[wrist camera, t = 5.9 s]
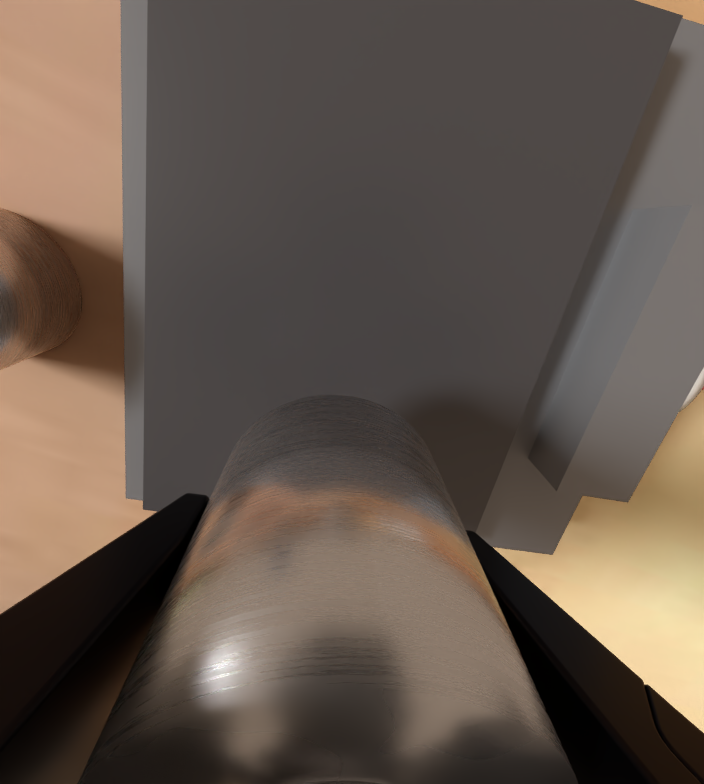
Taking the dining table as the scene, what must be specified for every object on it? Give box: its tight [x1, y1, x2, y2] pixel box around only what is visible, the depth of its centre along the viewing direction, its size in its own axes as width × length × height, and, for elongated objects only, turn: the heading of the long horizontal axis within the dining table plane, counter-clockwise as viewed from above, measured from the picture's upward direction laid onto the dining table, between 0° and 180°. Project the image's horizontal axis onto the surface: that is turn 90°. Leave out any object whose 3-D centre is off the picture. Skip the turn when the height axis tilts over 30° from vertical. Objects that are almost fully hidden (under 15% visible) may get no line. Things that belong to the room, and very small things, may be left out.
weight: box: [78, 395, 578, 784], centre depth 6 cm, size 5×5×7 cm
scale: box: [121, 0, 704, 555], centre depth 12 cm, size 16×16×4 cm
